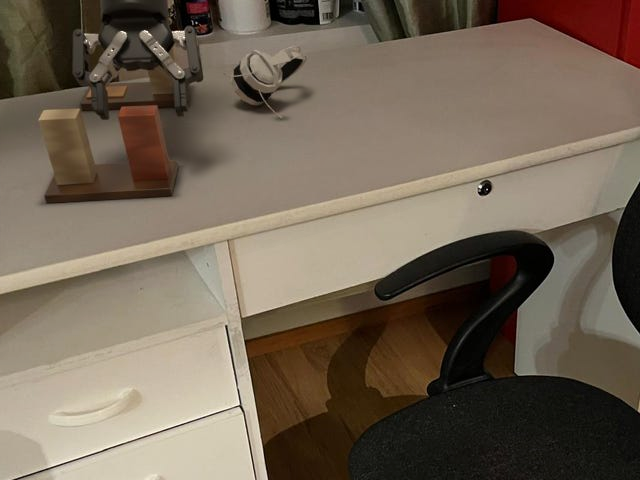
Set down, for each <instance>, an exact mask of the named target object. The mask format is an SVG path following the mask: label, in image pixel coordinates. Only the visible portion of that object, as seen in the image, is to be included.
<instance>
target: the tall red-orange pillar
mask: <svg viewBox="0 0 640 480" xmlns="http://www.w3.org/2000/svg"><path fill="white" fill-rule="evenodd" d="M117 119H118V122H119V128H120V131H121V136H122V141H123V144H124V148H125V153H126V157H127V161H128V163H129V166H130V170H131V174H132V178H133V181H145V180H163V179H168V177H169V173H170V164H169V161H170V159H169V155H168V150H167V145H166V140H165V135H164V130H163V125H162V120H161V115H160V111H159V107H158V106H157V105H150V106H126V107H121V109H119V112H118V115H117Z"/></svg>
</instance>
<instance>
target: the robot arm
mask: <svg viewBox="0 0 640 480" xmlns="http://www.w3.org/2000/svg"><path fill="white" fill-rule="evenodd" d="M99 2H100V17H101V27H100V30H99V32H98V33H84V31H83V30H82V29H81V28H76V29H74V30H73V31H72V57H71V58H72V61H71V62H72V64H71V65H72V66H71V67H72V68H71V72H72V73H71V74H72V75H73V78H75V80H76V82H77V83H78V84H79V86H81V87H88V88H89V87H91V98H92V107H93V109H94V110H93V111H94V112H95V114H96V115H97V116H99V117H100V119H101V120H102V121H109V120H110V109H109V108H108V92H107V90H106V87H107V86H108V84H110V83H112V81H113V79H117V77H118V76H119V75H120V74H121V72H122V71H123V69H124V70H126V72H135V71H139V70H145V71H148V70H154V68H156V67H158V66H160V67H161V68H162V69H163V70H164V71H165V72H166V73H167V74H168V75H169V76H170V77H171V78H172V79H173V92H174V106H175V107H174V111H175V114H176V116H177V118H181V117H185V112H189V109H190V103H189V102H190V100H189V90H188V86H189V87H190V85H191V84H193V83H201V82H203V80H204V70H203V65H202V57H201V50H200V42H199V38H198V35H197V32H196V29H195V28H194V27H193V26H192V25H186V26H185V28H184V30H175V31H174V30H173V32H172V29H171V28H170V15H169V14H170V13H169V2H168V0H99ZM176 43H177V44H178V45H180V48H181V50H183V51H186V53H187V61H188V67H186V68H183V69H182V67H181V66H180V65H179V66H178V64H177V63H176V62H175V61H174V60H173V59H172V57H171V56H170V55H169V54H168V53H169V51H170V50H171V49H172V47H173V46H174V44H175V45H176ZM98 46H101V48H102V49H103V50H104V51H103V53H102V54H101V55H100V57H99V58H98V61H97V62H98V63H97V64H96V66H95V67H94V68H93V69H92V70H90V68H91V67H90V66H91V64H90V63H91V55H92V54H94V53H95V51H96V48H97V47H98ZM90 71H91V72H90Z"/></svg>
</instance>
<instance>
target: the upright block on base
mask: <svg viewBox="0 0 640 480" xmlns="http://www.w3.org/2000/svg"><path fill="white" fill-rule="evenodd" d="M171 31H172V30H171ZM173 31H174V30H173ZM173 31H172V32H173ZM168 54H169V55H170V56H171V57H172V59H173V60H174V61H175V62H176V63H177V64H178V66H179V67H180V61H179V56H178V51H177V46H176V43H175V44H174V46H173V47H172V49H171V50H170V51H169V53H168ZM147 73H148V78H149V81H140V82H139V81H137V82H115V83H112V82H110V83H109V84H108V86H107V87H106V90H107V92H108V108H109V110H121V107H126V106H150V105H157V106H158V108H175V106H174V92H173V79H172V78H171V77H170V76H169V75H168V74H167V73H166V72H165V71H164V70H163V69H162V68H161V67H160V66H158V67H156V68H154V70H147ZM189 90H190V85H189V86H188V91H189ZM80 107H81V111H94V109H93V107H92V98H91V87H88V88H87V90H86V92H85V95H84V96H83V98H82V100H81V102H80Z"/></svg>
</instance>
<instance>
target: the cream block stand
mask: <svg viewBox="0 0 640 480" xmlns="http://www.w3.org/2000/svg"><path fill="white" fill-rule="evenodd" d="M37 121H38V125H39V128H40V131H41V134H42V138H43V141H44V144H45V147H46V151H47V154H48V158H49V162H50V163H51V168H52V171H53V176H52V178H51V180H50V182H49V184H48V186H47V189H46V190H45V193H44V195H43V197H44V200H45V203H46V204H51V203H53V204H54V203H70V202H71V203H73V202H90V201H105V200H123V199H125V200H126V199H143V198H159V197H172V196H173V192H174V188H175V183H176V179H177V173H178V170H179V164H178V160H169V164H170V173H169V177H168V179H163V180H145V181H133V178H132V174H131V170H130V166H129V162H119V163H118V162H117V163H96V162H95V159H94V154H93V151H92V147H91V143H90V140H89V136H88V133H87V128H86V125H85V121H84V116H83V113H82V108H61V109H60V108H59V109H43V110H42V112H41V114H40V116H39V117H38V120H37Z"/></svg>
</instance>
